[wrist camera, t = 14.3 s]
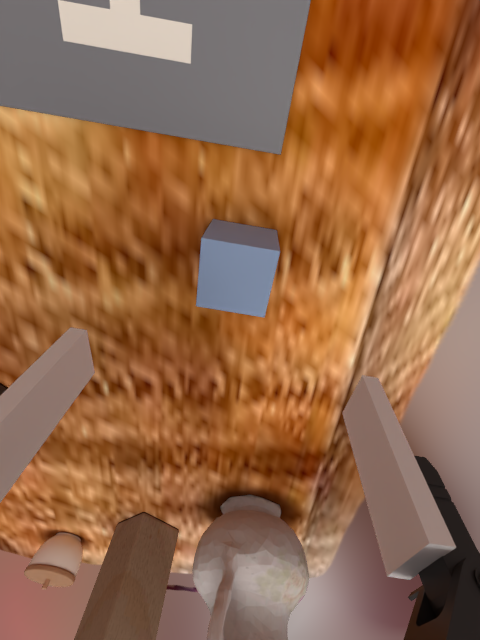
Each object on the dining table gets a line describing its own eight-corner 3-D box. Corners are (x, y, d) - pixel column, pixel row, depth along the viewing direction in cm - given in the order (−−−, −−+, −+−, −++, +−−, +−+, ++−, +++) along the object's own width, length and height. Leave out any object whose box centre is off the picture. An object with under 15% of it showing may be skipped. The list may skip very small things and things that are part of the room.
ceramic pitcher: (178, 486, 55) (116, 699, 35) (264, 467, 47) (249, 732, 27) (241, 531, 64) (221, 721, 44) (322, 522, 56) (343, 750, 36)
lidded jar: (84, 550, 73) (62, 600, 66) (42, 538, 71) (14, 588, 63) (95, 537, 68) (74, 589, 60) (50, 523, 66) (22, 576, 58)
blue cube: (207, 277, 30) (196, 306, 25) (213, 218, 26) (201, 237, 21) (264, 287, 30) (264, 317, 25) (276, 229, 27) (280, 251, 21)
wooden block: (144, 511, 59) (97, 659, 42) (179, 529, 63) (149, 672, 46) (116, 523, 63) (64, 662, 46) (151, 539, 67) (114, 674, 50)
